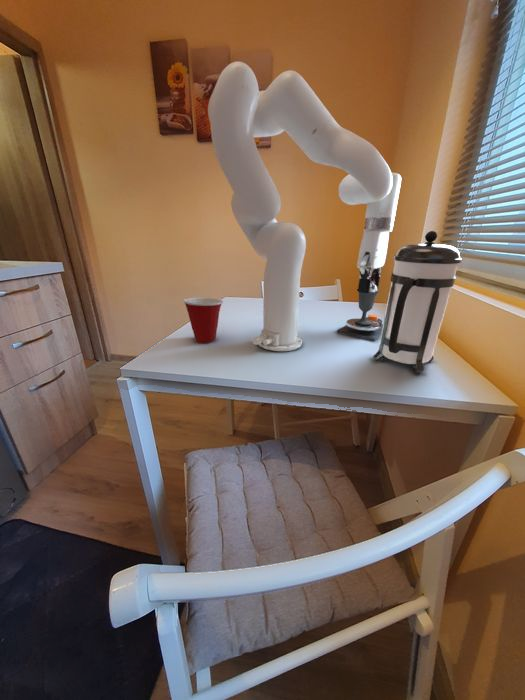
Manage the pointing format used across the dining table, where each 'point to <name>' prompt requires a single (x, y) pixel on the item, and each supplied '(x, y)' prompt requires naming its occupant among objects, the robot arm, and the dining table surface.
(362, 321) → the sundae
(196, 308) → the plastic cup
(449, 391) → the dining table surface
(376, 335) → the scale
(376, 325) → the pan
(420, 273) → the coffee press
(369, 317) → the tare button
